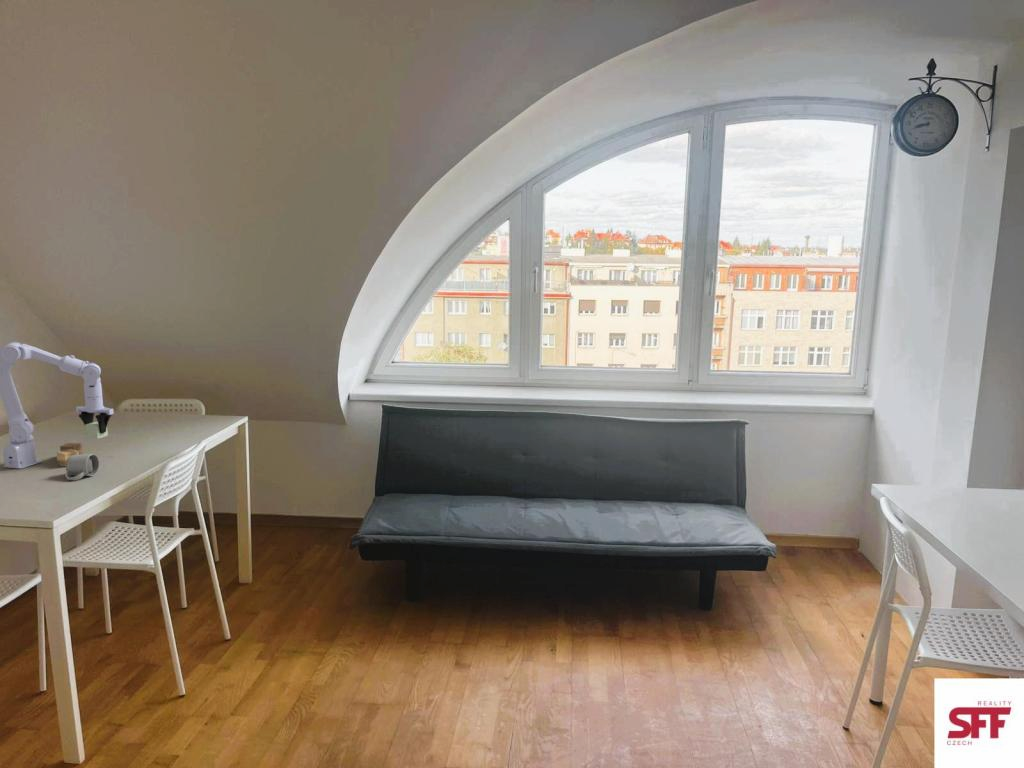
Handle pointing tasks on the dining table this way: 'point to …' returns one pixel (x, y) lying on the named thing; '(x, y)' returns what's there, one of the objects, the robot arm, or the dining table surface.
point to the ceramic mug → (81, 466)
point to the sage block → (94, 431)
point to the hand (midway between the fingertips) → (96, 432)
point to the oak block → (65, 456)
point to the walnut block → (72, 447)
